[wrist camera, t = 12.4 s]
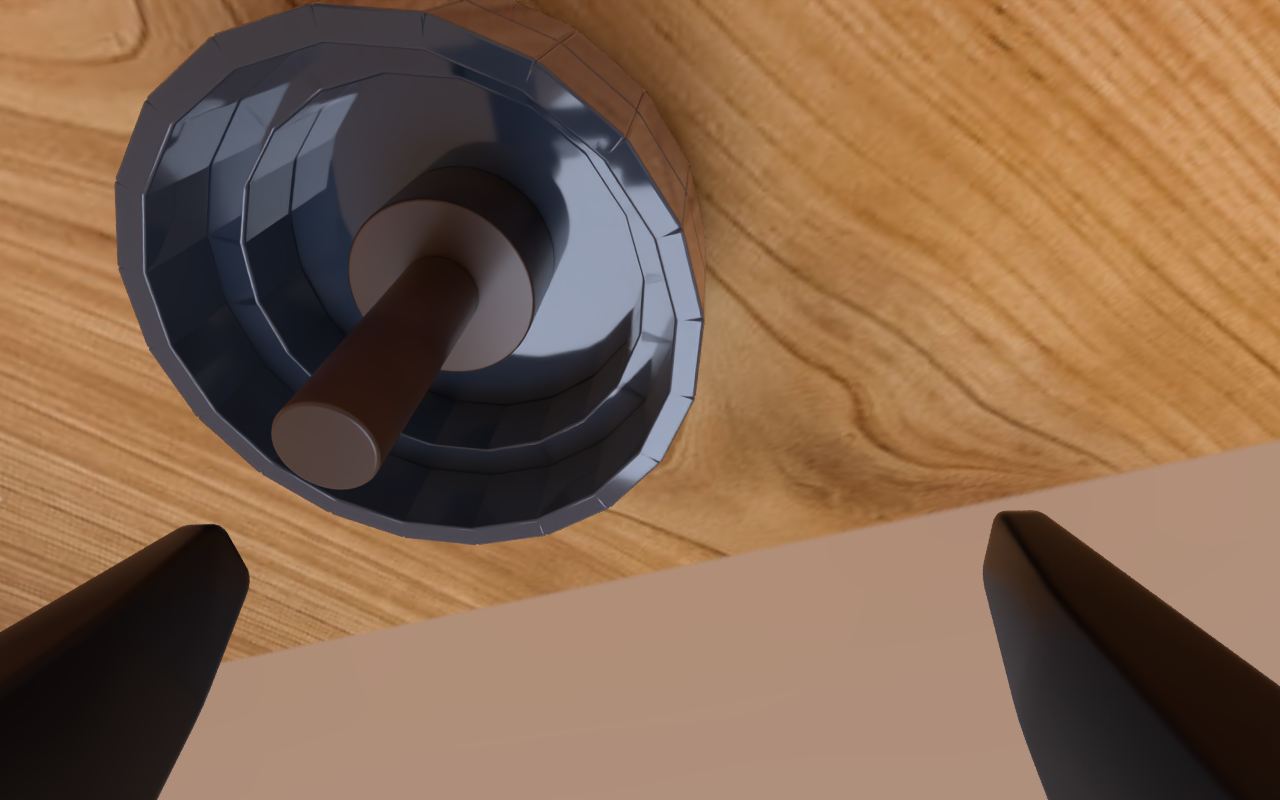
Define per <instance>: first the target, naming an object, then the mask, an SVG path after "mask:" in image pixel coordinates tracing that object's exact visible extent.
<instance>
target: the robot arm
mask: <svg viewBox="0 0 1280 800" xmlns="http://www.w3.org/2000/svg"><path fill="white" fill-rule="evenodd" d="M983 581H984V586H985V591H986V595H987V599H988V603H989V607H990V611H991V615H992V619H993V623H994V627H995V630H996V635H997V639H998V642H999V646H1000V650H1001V654H1002V658H1003V662H1004V666H1005V670H1006V674H1007V678H1008V682H1009V686H1010V690H1011V694H1012V698H1013V701H1014V705H1015V709H1016V712H1017V716H1018V720H1019V723H1020V725H1021V728H1022V731H1023V734H1024V737H1025V740H1026V743H1027V745H1028V748H1029V751H1030V753H1031V756H1032V759H1033V761H1034V764H1035V767H1036V769H1037V772H1038V775H1039V777H1040V780H1041V783H1042V785H1043V788H1044V790H1045V793H1046V796H1047V799H1048V800H1280V686H1279V685H1277V684H1276V683H1275V682H1273V681H1272V680H1271V679H1269V678H1268V677H1267V676H1265V675H1264V674H1263V673H1261V672H1260V671H1258V670H1257V669H1256V668H1254V667H1253V666H1252V665H1250V664H1249V663H1247V662H1246V661H1245V660H1243V659H1242V658H1240V657H1239V656H1238V655H1236V654H1235V653H1234V652H1232V651H1231V650H1230V649H1228V648H1227V647H1225V646H1224V645H1223V644H1222V643H1220V642H1219V641H1217V640H1216V639H1215V638H1213V637H1212V636H1211V635H1209V634H1208V633H1206V632H1205V631H1203V630H1202V629H1201V628H1199V627H1198V626H1197V625H1196V624H1194V623H1193V622H1191V621H1190V620H1189V619H1187V618H1186V617H1184V616H1183V615H1182V614H1180V613H1179V612H1178V611H1176V610H1175V609H1174V608H1172V607H1171V606H1169V605H1168V604H1167V603H1165V602H1164V601H1163V600H1161V599H1160V598H1158V597H1157V596H1156V595H1154V594H1153V593H1152V592H1150V591H1149V590H1148V589H1146V588H1145V587H1144V586H1142V585H1141V584H1139V583H1138V582H1137V581H1135V580H1134V579H1132V578H1131V577H1130V576H1128V575H1127V574H1126V573H1124V572H1123V571H1122V570H1120V569H1119V568H1117V567H1116V566H1115V565H1113V564H1112V563H1111V562H1109V561H1108V560H1106V559H1105V558H1104V557H1103V556H1101V555H1100V554H1098V553H1097V552H1096V551H1094V550H1093V549H1092V548H1090V547H1089V546H1088V545H1086V544H1085V543H1083V542H1082V541H1081V540H1079V539H1078V538H1077V537H1075V536H1074V535H1072V534H1071V533H1070V532H1068V531H1067V530H1066V529H1064V528H1063V527H1062V526H1060V525H1059V524H1057V523H1056V522H1055V521H1053V520H1052V519H1050V518H1049V517H1048V516H1046V515H1045V514H1043V513H1041V512H1038V511H1032V510H1029V511H1002V512H1000V513H998V514H997V515H996V517H995V519H994V521H993V524H992V529H991V533H990V538H989V543H988V546H987V551H986V555H985V560H984V565H983ZM249 583H250V579H249V572H248V569H247V567H246V565H245V564H244V562H243V560H242V558H241V556H240V555H239V553H238V551H237V549H236V548H235V546H234V544H233V542H232V540H231V539H230V537H229V535H228V533H227V532H226V531H225V529H223V528H222V527H220V526H219V525H215V524H199V525H186V526H183V527H180V528H178V529H176V530H175V531H173V532H171V533H170V534H168V535H166V536H164V537H163V538H161V539H159V540H158V541H156V542H154V543H152V544H151V545H149V546H147V547H146V548H144V549H142V550H140V551H139V552H137V553H135V554H134V555H132V556H130V557H128V558H127V559H125V560H123V561H122V562H120V563H118V564H116V565H115V566H113V567H111V568H110V569H108V570H106V571H104V572H103V573H101V574H99V575H98V576H96V577H94V578H92V579H91V580H89V581H87V582H86V583H84V584H82V585H80V586H79V587H77V588H75V589H74V590H72V591H70V592H68V593H67V594H65V595H63V596H62V597H60V598H58V599H56V600H55V601H53V602H51V603H50V604H48V605H46V606H44V607H43V608H41V609H39V610H38V611H36V612H34V613H32V614H31V615H29V616H27V617H26V618H24V619H22V620H20V621H19V622H17V623H15V624H14V625H12V626H10V627H8V628H7V629H5V630H3V631H2V632H0V800H157V799H158V797H159V795H160V793H161V791H162V789H163V787H164V785H165V783H166V781H167V779H168V777H169V775H170V773H171V771H172V769H173V767H174V765H175V763H176V761H177V759H178V757H179V755H180V752H181V751H182V749H183V747H184V745H185V743H186V741H187V739H188V737H189V735H190V733H191V731H192V729H193V727H194V724H195V722H196V720H197V718H198V716H199V714H200V712H201V709H202V707H203V705H204V703H205V700H206V698H207V695H208V693H209V691H210V688H211V685H212V683H213V680H214V678H215V675H216V673H217V670H218V668H219V665H220V662H221V660H222V657H223V655H224V652H225V649H226V647H227V644H228V642H229V639H230V636H231V634H232V631H233V629H234V626H235V623H236V621H237V618H238V616H239V613H240V610H241V608H242V605H243V603H244V600H245V598H246V595H247V592H248V589H249Z"/></svg>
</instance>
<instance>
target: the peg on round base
mask: <svg viewBox="0 0 1280 800" xmlns="http://www.w3.org/2000/svg"><path fill="white" fill-rule="evenodd" d="M553 265H554V256H553V247H552V243H551V239H550V235H549V233H548V230H547V227H546V225H545V223H544V221H543V219H542V218H541V216H540V214H539V213H538V211H537V210H536V208H535V207H534V206H533V205H532V203H531V202H530V201H529V200H528V199H527V198H526V197H525V196H524V195H523V194H522V193H521V192H520V191H519V190H517V189H516V188H515V187H513V186H512V185H510V184H509V183H508V182H506V181H504V180H502V179H501V178H499V177H497V176H495V175H492V174H490V173H487V172H484V171H481V170H477V169H473V168H465V167H447V168H441V169H436V170H433V171H430V172H427V173H425V174H423V175H421V176H419V177H417V178H416V179H414V180H413V181H412V182H410V183H409V184H408V185H407V186H405V187H404V188H403V189H402V190H401V191H400V192H398V193H397V194H396V195H395V196H394V197H392V198H391V199H390V200H389V201H388V202H387V203H385V204H384V205H383V206H382V207H381V208H380V209H378V210H377V211H376V212H375V213H374V214H373V215H371V216H370V217H369V218H368V219H367V220H366V221H365V222H364V224H363V225H362V226H361V228H360V229H359V230H358V232H357V234H356V236H355V238H354V240H353V243H352V246H351V249H350V253H349V260H348V278H349V285H350V289H351V292H352V296H353V299H354V301H355V304H356V306H357V308H358V310H359V312H360V314H361V315H362V317H363V318H362V319H361V320H360V321H359V323H358V324H357V325H356V326H355V327H354V328H353V329H352V330H351V332H350V333H349V334H348V335H347V336H346V337H345V338H344V339H343V341H342V342H341V343H340V344H339V345H338V346H337V347H336V348H335V350H334V351H333V352H332V353H331V354H330V355H329V356H328V357H327V358H326V360H325V361H324V362H323V363H322V364H321V365H320V366H319V367H318V369H317V370H316V371H315V372H314V373H313V374H312V375H311V376H310V378H309V379H308V380H307V381H306V382H305V383H304V384H303V385H302V387H301V388H300V389H299V390H298V391H297V392H296V393H295V394H294V396H293V397H292V398H291V399H290V400H289V401H288V402H287V403H286V405H285V406H284V407H283V408H282V409H281V410H280V411H279V413H278V414H277V415H276V417H275V419H274V421H273V424H272V431H271V436H272V442H273V445H274V448H275V450H276V452H277V454H278V456H279V457H280V458H281V460H282V461H283V462H284V463H285V464H286V466H287V467H289V468H290V469H291V470H292V471H293V472H294V473H296V474H297V475H298V476H300V477H301V478H303V479H305V480H307V481H309V482H311V483H313V484H316V485H319V486H322V487H325V488H330V489H351V488H356V487H359V486H361V485H363V484H365V483H367V482H368V481H370V480H371V479H372V478H373V477H374V476H375V475H376V473H377V472H378V470H379V469H380V467H381V465H382V464H383V462H384V461H385V459H386V457H387V456H388V454H389V452H390V451H391V449H392V447H393V446H394V444H395V443H396V441H397V439H398V438H399V436H400V434H401V433H402V431H403V430H404V428H405V426H406V425H407V423H408V421H409V420H410V418H411V416H412V415H413V413H414V412H415V410H416V408H417V407H418V405H419V403H420V402H421V400H422V399H423V397H424V395H425V394H426V392H427V390H428V389H429V387H430V385H431V384H432V382H433V381H434V379H435V377H436V376H437V374H438V372H439V371H440V370H441V371H449V372H468V371H475V370H480V369H484V368H487V367H489V366H492V365H495V364H497V363H498V362H500V361H502V360H504V359H505V358H507V357H508V356H509V355H511V354H512V353H513V352H514V351H515V350H516V349H517V348H518V347H519V346H520V344H521V343H522V342H523V340H524V339H525V337H526V335H527V333H528V331H529V329H530V327H531V325H532V323H533V321H534V318H535V316H536V314H537V312H538V310H539V307H540V305H541V303H542V301H543V298H544V296H545V294H546V292H547V290H548V287H549V285H550V281H551V278H552V273H553Z"/></svg>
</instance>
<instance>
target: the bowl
mask: <svg viewBox="0 0 1280 800" xmlns="http://www.w3.org/2000/svg"><path fill="white" fill-rule="evenodd" d="M447 167H465V168H473V169H477V170H481V171H484V172H487V173H490V174H492V175H495V176H497V177H499V178H501V179H502V180H504V181H506V182H508V183H509V184H510V185H512V186H513V187H515V188H516V189H517V190H519V191H520V192H521V193H522V194H523V195H524V196H525V197H526V198H527V199H528V200H529V201H530V202H531V203H532V205H533V206H534V207H535V208H536V210H537V211H538V213H539V214H540V216H541V218H542V219H543V221H544V223H545V225H546V227H547V230H548V233H549V235H550V239H551V243H552V247H553V256H554V265H553V273H552V278H551V281H550V285H549V287H548V290H547V292H546V294H545V296H544V298H543V301H542V303H541V305H540V307H539V310H538V312H537V314H536V316H535V318H534V321H533V323H532V325H531V327H530V329H529V331H528V333H527V335H526V337H525V339H524V340H523V342H522V343H521V344H520V346H519V347H518V348H517V349H516V350H515V351H514V352H513V353H512V354H511V355H509V356H508V357H507V358H505V359H504V360H502V361H500V362H498V363H497V364H495V365H492V366H489V367H487V368H484V369H480V370H475V371H468V372H449V371H441V370H440V371H439V372H438V374H437V376H436V377H435V379H434V381H433V382H432V384H431V385H430V387H429V389H428V390H427V392H426V394H425V395H424V397H423V399H422V400H421V402H420V403H419V405H418V407H417V408H416V410H415V412H414V413H413V415H412V416H411V418H410V420H409V421H408V423H407V425H406V426H405V428H404V430H403V431H402V433H401V434H400V436H399V438H398V439H397V441H396V443H395V444H394V446H393V447H392V449H391V451H390V452H389V454H388V456H387V457H386V459H385V461H384V462H383V464H382V465H381V467H380V469H379V470H378V472H377V473H376V475H375V476H374V477H373V478H372V479H371V480H370V481H368V482H367V483H365V484H363V485H361V486H359V487H356V488H351V489H330V488H325V487H322V486H319V485H316V484H313V483H311V482H309V481H307V480H305V479H303V478H301V477H300V476H298V475H297V474H296V473H294V472H293V471H292V470H291V469H290V468H289V467H287V466H286V464H285V463H284V462H283V461H282V460H281V458H280V457H279V456H278V454H277V452H276V450H275V448H274V445H273V442H272V436H271V431H272V424H273V421H274V419H275V417H276V415H277V414H278V413H279V411H280V410H281V409H282V408H283V407H284V406H285V405H286V403H287V402H288V401H289V400H290V399H291V398H292V397H293V396H294V394H295V393H296V392H297V391H298V390H299V389H300V388H301V387H302V385H303V384H304V383H305V382H306V381H307V380H308V379H309V378H310V376H311V375H312V374H313V373H314V372H315V371H316V370H317V369H318V367H319V366H320V365H321V364H322V363H323V362H324V361H325V360H326V358H327V357H328V356H329V355H330V354H331V353H332V352H333V351H334V350H335V348H336V347H337V346H338V345H339V344H340V343H341V342H342V341H343V339H344V338H345V337H346V336H347V335H348V334H349V333H350V332H351V330H352V329H353V328H354V327H355V326H356V325H357V324H358V323H359V321H360V320H361V319H362V318H363V317H362V315H361V314H360V312H359V310H358V308H357V306H356V304H355V301H354V299H353V296H352V292H351V289H350V285H349V278H348V260H349V253H350V249H351V246H352V243H353V240H354V238H355V236H356V234H357V232H358V230H359V229H360V228H361V226H362V225H363V224H364V222H365V221H366V220H367V219H368V218H369V217H370V216H371V215H373V214H374V213H375V212H376V211H377V210H378V209H380V208H381V207H382V206H383V205H384V204H385V203H387V202H388V201H389V200H390V199H391V198H392V197H394V196H395V195H396V194H397V193H398V192H400V191H401V190H402V189H403V188H404V187H405V186H407V185H408V184H409V183H410V182H412V181H413V180H414V179H416V178H417V177H419V176H421V175H423V174H425V173H427V172H430V171H433V170H436V169H441V168H447ZM116 180H117V181H116V182H115V207H116V234H117V260H118V266H119V272H120V274H121V277H122V280H123V282H124V285H125V288H126V291H127V293H128V296H129V299H130V301H131V304H132V307H133V309H134V312H135V315H136V317H137V320H138V323H139V325H140V328H141V331H142V333H143V336H144V339H145V341H146V344H147V346H148V347H149V350H150V352H151V353H152V354H153V356H154V357H155V359H156V360H157V361H158V363H159V364H160V366H161V367H162V368H163V370H164V371H165V373H166V374H167V375H168V377H169V378H170V380H171V381H172V383H173V384H174V385H175V387H176V388H177V390H178V391H179V392H180V394H181V395H182V397H183V398H184V399H185V401H186V402H187V404H188V405H189V406H190V408H191V409H192V411H193V412H194V413H195V415H196V416H197V417H199V419H200V420H201V421H202V422H203V423H204V424H205V425H206V426H207V427H209V428H210V429H211V430H212V431H213V432H214V433H215V434H216V435H218V436H219V437H220V438H221V439H222V440H223V441H224V442H225V443H227V444H228V445H229V446H230V447H231V448H232V449H233V450H234V451H236V452H237V453H238V454H239V455H240V456H241V457H242V458H243V459H244V460H246V461H247V462H248V463H249V464H250V465H251V466H252V467H253V468H255V469H256V470H257V471H258V472H262V474H263V475H264V476H266V477H268V478H269V479H271V480H273V481H275V482H276V483H278V484H280V485H282V486H283V487H285V488H287V489H289V490H290V491H292V492H294V493H296V494H297V495H299V496H301V497H302V498H304V499H306V500H308V501H309V502H311V503H313V504H315V505H316V506H318V507H320V508H322V509H323V510H325V511H327V512H331V513H332V514H333V515H337V516H340V517H343V518H346V519H349V520H352V521H355V522H358V523H361V524H364V525H367V526H370V527H373V528H376V529H379V530H382V531H385V532H388V533H391V534H394V535H397V536H400V537H403V536H404V537H405V538H412V539H422V540H431V541H441V542H451V543H460V544H470V545H476V544H479V545H481V544H488V543H495V542H503V541H510V540H517V539H525V538H532V537H539V536H545V535H546V534H547V535H549V534H551V533H554V532H556V531H558V530H561V529H563V528H565V527H567V526H570V525H572V524H574V523H577V522H579V521H581V520H584V519H586V518H588V517H590V516H593V515H595V514H597V513H600V512H602V511H604V510H606V509H608V508H609V507H611V506H613V505H614V504H615V503H616V502H617V501H618V500H619V499H620V498H622V497H623V496H624V495H625V494H626V493H627V492H628V491H629V490H630V489H632V488H633V487H634V486H635V485H636V484H637V483H638V482H639V481H641V480H642V479H643V478H644V477H645V476H646V475H647V474H648V473H649V472H651V471H652V470H653V469H654V468H655V467H656V466H657V465H658V464H659V463H660V462H661V461H662V460H663V458H664V457H665V455H666V453H667V451H668V449H669V447H670V445H671V443H672V441H673V440H674V438H675V436H676V434H677V432H678V430H679V428H680V426H681V424H682V423H683V421H684V419H685V417H686V415H687V413H688V411H689V409H690V407H691V405H692V404H693V402H694V397H695V395H696V388H697V380H698V371H699V363H700V354H701V346H702V338H703V329H704V319H705V274H706V236H705V231H704V227H703V222H702V218H701V213H700V209H699V204H698V200H697V195H696V191H695V186H694V181H693V177H692V172H691V168H690V165H688V161H687V159H686V157H685V155H684V154H683V152H682V150H681V149H680V147H679V145H678V144H677V142H676V140H675V138H674V137H673V135H672V133H671V132H670V130H669V128H668V127H667V125H666V123H665V121H664V120H663V118H662V116H661V115H660V113H659V111H658V110H657V108H656V106H655V104H654V103H653V101H652V99H651V98H650V96H649V94H648V93H647V92H646V91H644V89H643V87H642V86H641V85H640V84H638V83H637V82H636V81H635V80H634V79H633V78H632V77H631V76H630V75H628V74H627V73H626V72H625V71H624V70H623V69H622V68H621V67H619V66H618V65H617V64H616V63H615V62H614V61H613V60H612V59H611V58H609V57H608V56H607V55H606V54H605V53H604V52H603V51H602V50H601V49H599V48H598V47H597V46H596V45H595V44H594V43H593V42H592V41H591V40H589V39H588V38H587V37H586V36H585V35H584V34H583V33H582V32H580V31H576V29H575V28H574V27H573V26H571V25H568V24H566V23H564V22H561V21H559V20H557V19H555V18H552V17H550V16H548V15H546V14H543V13H541V12H539V11H537V10H534V9H532V8H530V7H527V6H525V5H523V4H521V3H518V2H516V1H514V0H322V1H317V2H312V3H307V4H304V5H301V6H298V7H295V8H292V9H289V10H286V11H282V12H279V13H276V14H273V15H270V16H267V17H264V18H261V19H258V20H255V21H252V22H249V23H246V24H243V25H240V26H237V27H233V28H230V29H227V30H224V31H221V32H218V33H215V35H214V36H212V37H209V38H208V39H207V40H206V41H205V42H204V43H203V44H202V45H201V46H200V47H199V48H198V49H197V50H196V51H195V52H194V53H193V54H192V55H191V56H189V57H188V58H187V59H186V60H185V61H184V62H183V63H182V64H181V65H180V66H179V67H178V68H177V69H176V70H175V71H174V72H173V73H172V74H171V75H170V76H168V77H167V78H166V79H165V80H164V81H163V82H162V83H161V84H160V85H159V86H158V87H157V88H156V89H155V90H154V91H153V92H152V93H151V94H150V95H149V96H148V97H147V100H146V101H145V102H144V104H143V107H142V109H141V112H140V115H139V117H138V120H137V123H136V125H135V128H134V131H133V133H132V136H131V139H130V142H129V144H128V147H127V150H126V152H125V155H124V158H123V160H122V163H121V166H120V168H119V171H118V174H117V176H116Z"/></svg>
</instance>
